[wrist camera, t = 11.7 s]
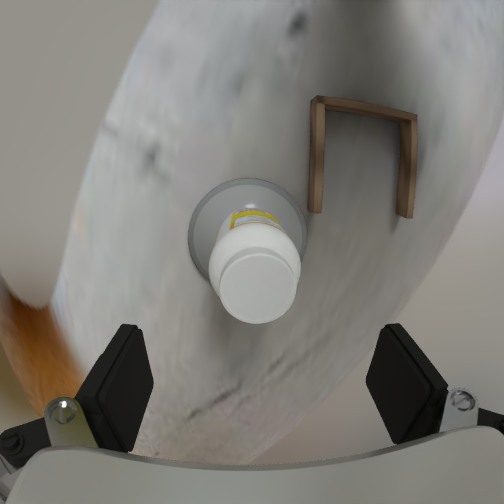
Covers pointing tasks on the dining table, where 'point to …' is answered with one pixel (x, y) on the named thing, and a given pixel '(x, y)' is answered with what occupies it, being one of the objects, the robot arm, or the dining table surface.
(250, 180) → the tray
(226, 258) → the supplement bottle
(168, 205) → the dining table surface
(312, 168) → the frame
